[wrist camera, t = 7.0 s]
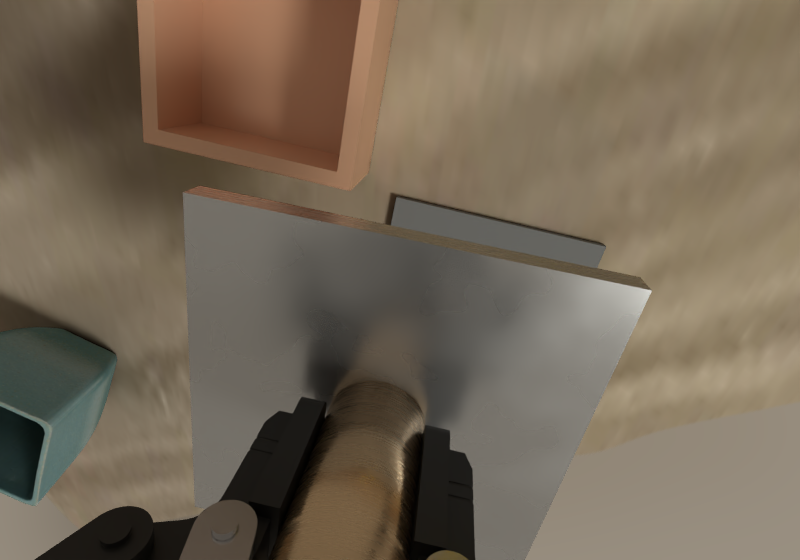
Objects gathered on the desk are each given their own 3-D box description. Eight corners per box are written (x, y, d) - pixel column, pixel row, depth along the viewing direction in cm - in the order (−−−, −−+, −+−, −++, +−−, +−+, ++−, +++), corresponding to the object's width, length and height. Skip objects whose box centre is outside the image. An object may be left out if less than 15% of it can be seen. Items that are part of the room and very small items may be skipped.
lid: (640, 277, 12) (843, 502, 5) (511, 560, 17) (540, 841, 11) (199, 185, 12) (-74, 295, 6) (206, 488, 17) (63, 716, 11)
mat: (604, 244, 27) (606, 246, 27) (533, 406, 33) (534, 409, 32) (397, 195, 27) (396, 197, 27) (362, 363, 33) (361, 367, 33)
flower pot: (39, 295, 34) (-92, 362, 26) (146, 346, 35) (50, 426, 27) (28, 374, 38) (-90, 455, 30) (125, 418, 39) (35, 509, 31)
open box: (405, -43, 22) (391, -74, 18) (368, 172, 27) (350, 191, 22) (197, -89, 23) (130, -131, 18) (196, 131, 27) (143, 142, 23)
